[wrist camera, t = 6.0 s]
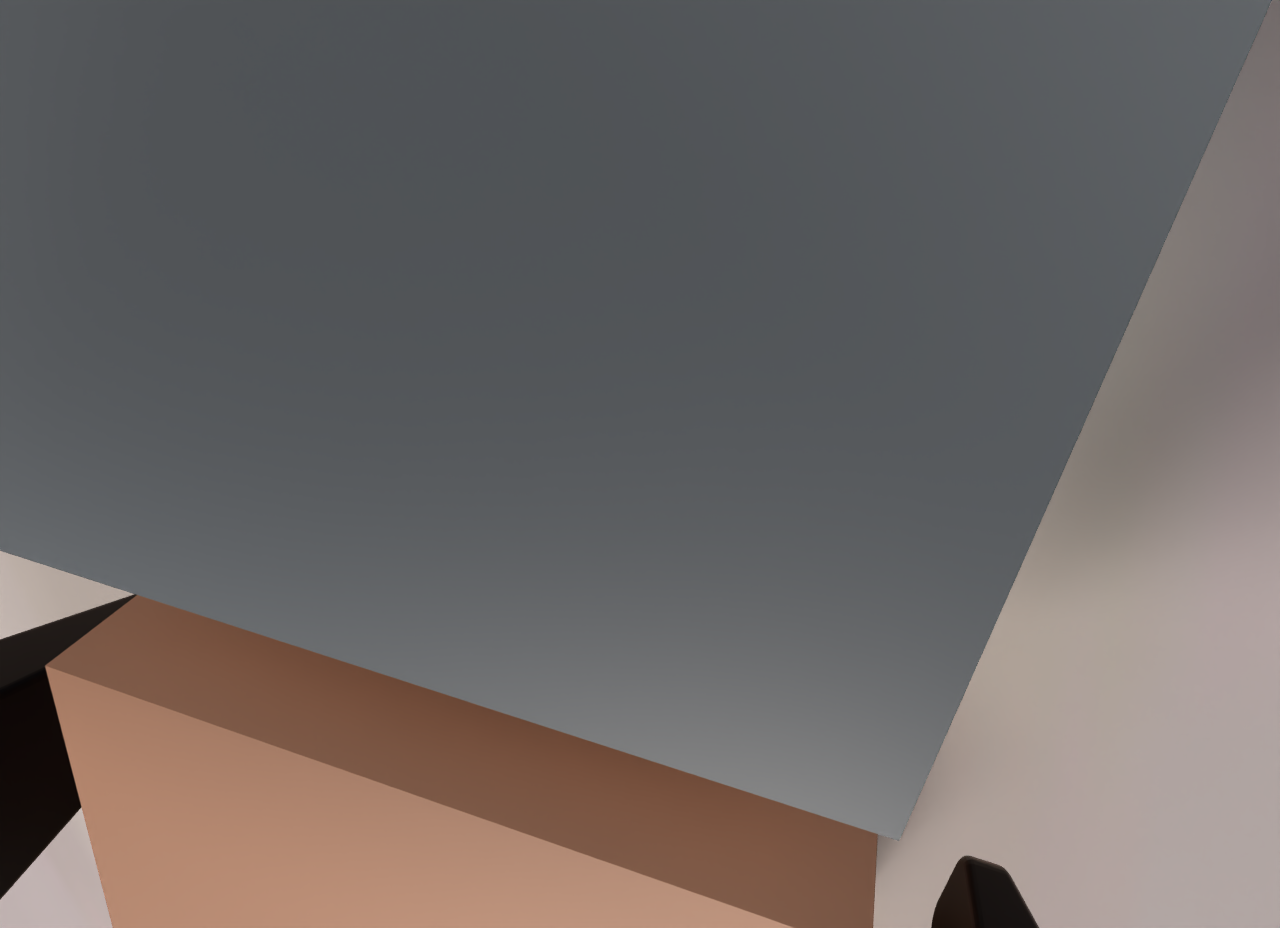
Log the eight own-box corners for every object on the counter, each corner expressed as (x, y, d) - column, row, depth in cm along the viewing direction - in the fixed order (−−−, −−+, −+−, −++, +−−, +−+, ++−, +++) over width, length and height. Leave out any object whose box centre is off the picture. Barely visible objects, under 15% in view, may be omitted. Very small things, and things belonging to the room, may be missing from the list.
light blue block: (1079, -109, 8) (1421, -332, 2) (904, 422, 10) (890, 857, 5) (436, -198, 9) (-285, -492, 3) (424, 305, 11) (6, 568, 6)
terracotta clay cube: (894, 488, 10) (872, 953, 5) (794, 780, 13) (714, 1283, 8) (433, 367, 11) (44, 666, 6) (424, 661, 14) (142, 1042, 9)
